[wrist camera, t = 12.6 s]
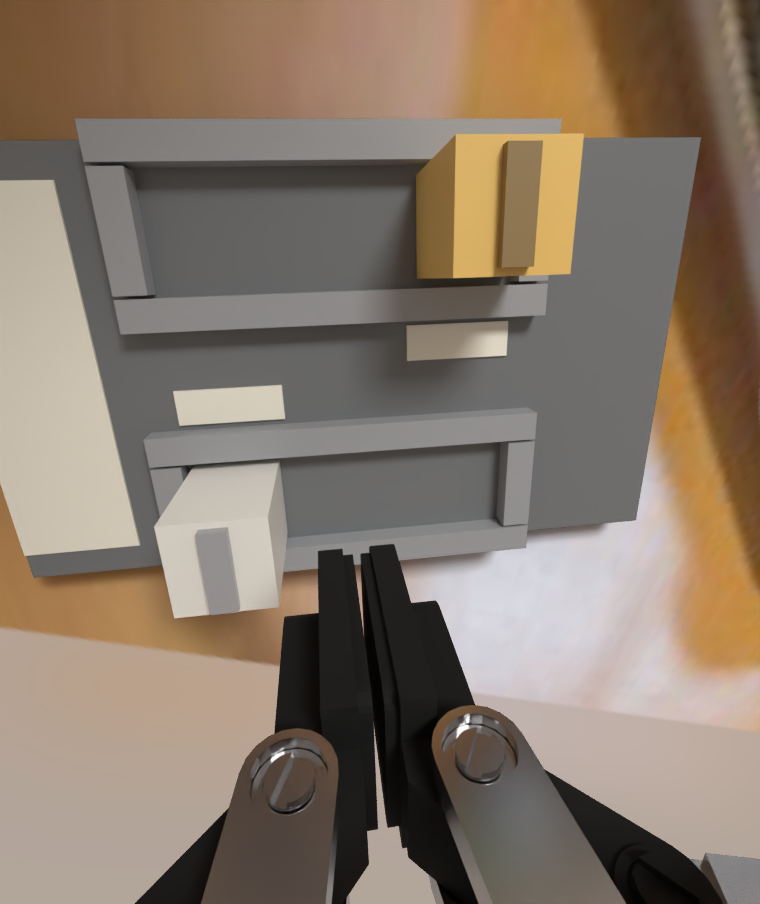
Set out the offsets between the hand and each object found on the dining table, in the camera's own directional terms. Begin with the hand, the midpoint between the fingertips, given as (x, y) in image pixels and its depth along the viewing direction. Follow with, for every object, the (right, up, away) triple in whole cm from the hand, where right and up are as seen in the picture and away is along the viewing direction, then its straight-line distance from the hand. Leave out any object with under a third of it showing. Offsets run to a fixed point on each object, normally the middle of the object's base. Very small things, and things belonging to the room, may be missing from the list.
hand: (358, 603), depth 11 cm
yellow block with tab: (+3, +11, +5) cm, 12 cm away
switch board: (-1, +7, +8) cm, 10 cm away
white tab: (-5, +2, +7) cm, 9 cm away
